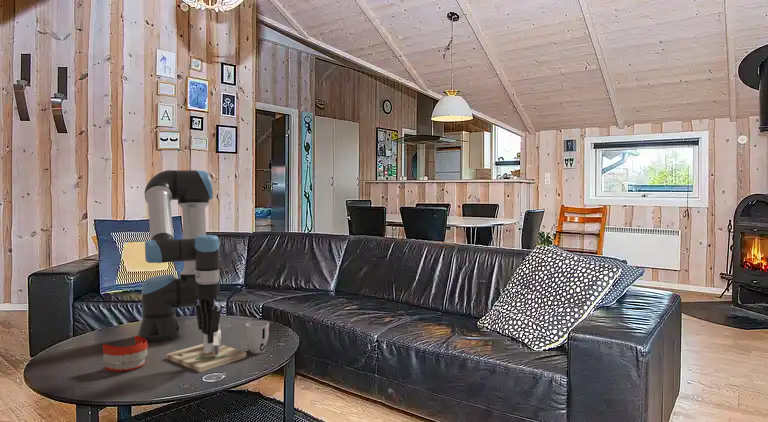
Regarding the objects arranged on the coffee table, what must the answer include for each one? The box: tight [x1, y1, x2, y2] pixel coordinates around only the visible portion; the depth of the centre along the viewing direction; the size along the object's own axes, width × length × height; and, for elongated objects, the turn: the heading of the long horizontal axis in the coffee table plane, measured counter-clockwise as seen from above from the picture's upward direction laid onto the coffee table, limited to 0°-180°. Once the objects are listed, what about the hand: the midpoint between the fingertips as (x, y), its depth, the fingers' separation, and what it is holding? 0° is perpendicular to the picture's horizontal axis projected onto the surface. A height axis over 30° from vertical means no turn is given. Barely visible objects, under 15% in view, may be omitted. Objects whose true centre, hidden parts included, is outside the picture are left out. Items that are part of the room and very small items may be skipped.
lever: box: [213, 323, 222, 355], centre depth 183 cm, size 17×5×7 cm, turn 21°
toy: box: [101, 335, 149, 373], centre depth 171 cm, size 12×10×8 cm
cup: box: [245, 320, 270, 355], centre depth 187 cm, size 8×8×10 cm
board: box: [165, 342, 247, 373], centre depth 181 cm, size 20×18×2 cm
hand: (208, 351), depth 175 cm, fingers closed
